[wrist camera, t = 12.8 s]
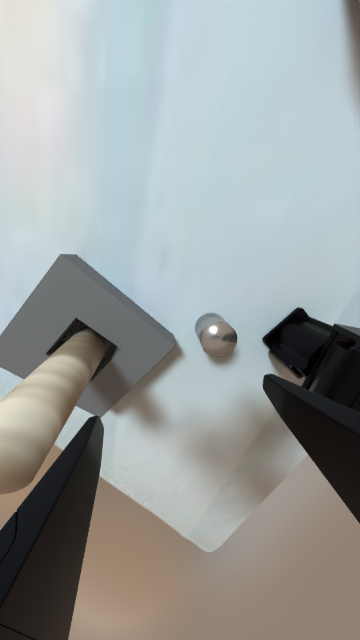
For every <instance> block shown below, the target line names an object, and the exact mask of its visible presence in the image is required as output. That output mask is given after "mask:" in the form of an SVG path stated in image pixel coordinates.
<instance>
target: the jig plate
mask: <svg viewBox="0 0 360 640" xmlns="http://www.w3.org/2000/svg"><path fill="white" fill-rule="evenodd" d="M78 320H80V321H82V322H83V323H85V324H86V325H88V326H89V327H90V328H92V329H93V330H95V331H96V332H98V333H99V334H100V335H102V336H103V337H105V338H106V339H108V340H109V341H111V342H112V343H113V344H115V345H116V346H118V347H117V348H116V349H115V350H114V351H113V352H112V353H111V354H110V355H109V357H108V358H107V359H106V360H105V361H104V362H103V363H102V364H101V365H100V366H99V365H98V367H97V369H96V370H95V372H94V374H93V376H92V377H91V379H90V381H89V383H88V385H87V386H86V388H85V390H84V392H83V393H82V395H81V397H80V399H79V400H78V402H77V404H76V406H77V407H79V408H81V409H83V410H85V411H87V412H89V413H91V414H93V415H95V416H99V417H100V418H101V417H102V416H103V415H104V414H105V413H106V412H107V411H108V410H109V409H110V408H111V407H112V406H114V405H115V404H116V403H117V402H118V401H119V400H120V399H121V398H122V397H123V396H124V395H125V394H126V393H127V392H128V391H129V390H130V389H131V388H132V387H133V386H134V385H135V384H136V383H137V382H138V381H139V380H140V379H141V378H142V377H143V376H144V375H145V374H146V373H147V372H148V371H149V370H150V369H151V368H152V367H153V366H154V365H155V364H157V363H158V362H159V361H160V360H161V359H162V358H163V357H164V356H165V355H166V354H167V353H168V352H169V351H170V350H171V349H172V348H173V347H174V346H175V344H174V338H173V334H172V333H171V332H169V331H168V330H167V329H166V328H164V327H163V326H162V325H161V324H160V323H158V322H157V321H156V320H155V319H154V318H152V317H151V316H150V315H149V314H148V313H146V312H145V311H144V310H143V309H141V308H140V307H139V306H138V305H137V304H135V303H134V302H133V301H132V300H131V299H129V298H128V297H127V296H126V295H124V294H123V293H122V292H121V291H120V290H118V289H117V288H116V287H115V286H114V285H112V284H111V283H110V282H109V281H108V280H106V279H105V278H104V277H103V276H101V275H100V274H99V273H98V272H97V271H95V270H94V269H93V268H92V267H91V266H89V265H88V264H87V263H86V262H85V261H83V260H82V259H81V258H80V257H78V256H77V255H73V254H60V255H59V257H58V258H57V259H56V261H55V262H54V264H53V265H52V266H51V268H50V269H49V270H48V272H47V273H46V274H45V276H44V277H43V278H42V280H41V281H40V283H39V284H38V285H37V287H36V288H35V289H34V291H33V292H32V293H31V295H30V296H29V297H28V299H27V300H26V301H25V303H24V304H23V306H22V307H21V308H20V310H19V311H18V312H17V314H16V315H15V316H14V318H13V319H12V320H11V322H10V323H9V324H8V326H7V327H6V329H5V330H4V331H3V333H2V334H1V335H0V367H1V368H3V369H5V370H7V371H9V372H11V373H13V374H15V375H17V376H19V377H21V378H23V379H25V378H26V377H28V376H29V375H30V374H31V373H32V372H33V371H34V370H35V369H36V368H38V367H39V366H40V365H41V364H42V363H43V362H44V361H45V360H46V359H48V358H49V357H50V356H51V355H52V354H53V353H54V352H55V351H56V350H58V349H59V348H60V347H61V346H62V345H63V344H64V343H63V342H61V340H62V339H63V338H64V337H65V335H66V334H67V333H68V332H69V331H70V329H71V328H72V327H73V326H74V325H75V324H76V322H77V321H78Z"/></svg>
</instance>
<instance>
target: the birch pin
mask: <svg viewBox="0 0 360 640" xmlns="http://www.w3.org/2000/svg"><path fill="white" fill-rule="evenodd" d="M110 344H111V341H109V340H108V339H106V338H105V337H103V336H102V335H100V334H99V333H98V332H96V331H95V330H93V329H92V328H90V327H89V326H88V325H86V326H84V327H82V328H81V329H80V330H79V331H78V332H76V333H75V334H74V335H73V336H72V337H71V338H70V339H69V340H68V341H66V342H65V343H64V344H63V345H62V346H61V347H60V348H59V349H58V350H56V351H55V352H54V353H53V354H52V355H51V356H50V357H49V358H48V359H46V360H45V361H44V362H43V363H42V364H41V365H40V366H39V367H38V368H36V369H35V370H34V371H33V372H32V373H31V374H30V375H29V376H28V377H26V378H25V379H24V380H23V381H22V382H21V383H20V384H19V385H18V386H16V387H15V388H14V389H13V390H12V391H11V392H10V393H9V394H8V395H6V396H5V397H4V398H3V399H2V400H1V401H0V494H6V493H11V492H15V491H18V490H20V489H22V488H24V487H26V486H28V485H29V484H30V483H31V482H32V480H33V479H34V477H35V475H36V474H37V472H38V470H39V469H40V467H41V465H42V463H43V461H44V460H45V458H46V456H47V454H48V453H49V451H50V449H51V448H52V446H53V444H54V442H55V441H56V439H57V437H58V435H59V434H60V432H61V430H62V428H63V427H64V425H65V423H66V421H67V420H68V418H69V416H70V414H71V413H72V411H73V409H74V407H75V406H76V404H77V402H78V400H79V399H80V397H81V395H82V393H83V392H84V390H85V388H86V386H87V385H88V383H89V381H90V379H91V377H92V376H93V374H94V372H95V370H96V369H97V367H98V365H99V363H100V362H101V360H102V358H103V356H104V355H105V353H106V351H107V349H108V348H109V346H110Z"/></svg>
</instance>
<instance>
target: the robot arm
mask: <svg viewBox="0 0 360 640" xmlns="http://www.w3.org/2000/svg"><path fill="white" fill-rule="evenodd" d="M299 311H300V312H299ZM266 339H267V340H266ZM263 341H264V342H265V343H266V344H267V345H268V346H269V348H270V353H271V354H272V355H273V356H274V357H275V358H276V359H277V360H278V361H279V362H280V363H281V364H282V365H283V366H284V367H286V368H287V369H288V370H289V371H290V372H291V373H292V374H294V375H295V376H296V377H297V378H299V379H301V378H302V377H304V378H306V379H305V381H304V383H303V385H302V386H298V385H296V384H294V383H292V382H289V381H287V380H285V379H283V378H280V377H278V376H276V375H274V374H267V375H265V376H264V379H263V389H264V391H265V393H266V395H267V396H268V398H269V399H270V401H271V403H272V404H273V406H274V408H275V409H276V411H277V412H278V414H279V415H280V417H281V418H282V420H283V421H284V422H285V424H286V425H287V426H288V428H289V429H290V431H291V432H292V433H293V435H294V436H295V437H296V439H297V440H298V441H299V443H300V444H301V445H302V447H303V448H304V449H305V451H306V452H307V453H308V455H309V456H310V457H311V459H312V460H313V461H314V463H315V464H316V465H317V467H318V468H319V470H320V471H321V472H322V474H323V475H324V476H325V478H326V479H327V480H328V482H329V483H330V484H331V485H332V487H333V488H334V490H335V491H336V492H337V494H338V495H339V496H340V498H341V499H342V500H343V502H344V503H345V504H346V506H347V507H348V508H349V510H350V511H351V513H352V514H353V515H354V516H355V518H356V519H357V521H358V522H359V523H360V328H356V327H350V326H345V325H340V324H334V325H333V326H331V325H328V324H326V323H323V322H321V321H318V320H316V319H313V318H311V317H309V316H308V315H307V313H306V312H305V310H304V309H303V308H296V309H295V310H294V311H293V312H292V313H291V314H290V315H288V316H287V317H286V318H285V319H284V320H283V321H282V322H280V323H279V324H278V325H277V326H276V327H275V328H273V329H272V330H271V331H270V332H269V333H268V334H267V335H265V336H264V337H263ZM103 436H104V427H103V424H102V422H101V419H100V417H99V416H93V417H90V418H89V419H88V420H87V421H86V422H85V424H84V425H83V426H82V428H81V429H80V430H79V431H78V433H77V434H76V435H75V436H74V438H73V439H72V440H71V441H70V443H69V444H68V445H67V447H66V448H65V449H64V450H63V452H62V453H61V454H60V456H59V457H58V458H57V459H56V461H55V462H54V463H53V464H52V466H51V467H50V468H49V469H48V471H47V472H46V473H45V475H44V476H43V477H42V478H41V480H40V481H39V482H38V484H37V485H36V486H35V487H34V488H33V490H32V491H31V493H30V494H29V495H28V496H27V497H26V499H25V500H24V501H23V502H22V504H21V505H20V506H19V508H18V509H17V512H15V513H14V514H13V515H12V517H11V518H10V519H9V520H8V521H7V523H6V524H5V525H4V527H3V528H2V529H1V530H0V640H68V637H69V632H70V627H71V621H72V616H73V611H74V605H75V600H76V595H77V590H78V584H79V579H80V573H81V567H82V563H83V558H84V553H85V547H86V542H87V537H88V532H89V526H90V521H91V516H92V510H93V505H94V500H95V495H96V489H97V484H98V479H99V473H100V467H101V458H102V447H103Z"/></svg>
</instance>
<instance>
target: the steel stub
mask: <svg viewBox="0 0 360 640" xmlns="http://www.w3.org/2000/svg"><path fill="white" fill-rule="evenodd" d="M195 331H196V334H197V336H198V338H199V340H200V343H201V345H202V347H203V349H204V351H205V352H206V353H207V354H209V355H211V356H214V357H220V356H224V355H226V354H228V353H230V352H231V351H232V350H233V349H234V347H235V345H236V343H237V334H236V332H235V330H234V329H233V328H232V327H231V326H230V325H229V324H228V323H227V322H226V321H225V320H224V319H223V318H222V317H221V316H220V315H218V314H215V313H207V314H205V315H203V316H201V317H200V318H199V319H198V321H197V322H196V325H195Z"/></svg>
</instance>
